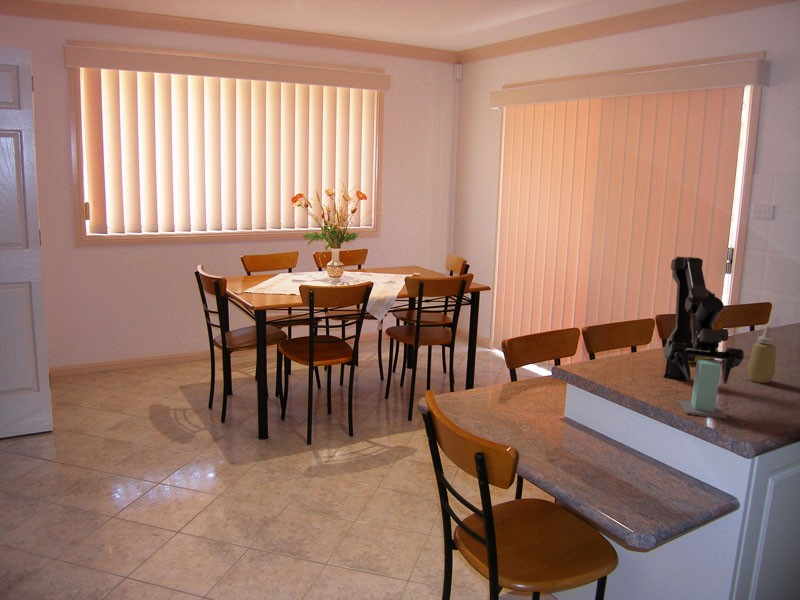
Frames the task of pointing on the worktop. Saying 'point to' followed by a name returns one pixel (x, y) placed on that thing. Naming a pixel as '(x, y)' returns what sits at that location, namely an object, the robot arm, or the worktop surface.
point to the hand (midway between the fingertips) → (707, 381)
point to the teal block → (705, 385)
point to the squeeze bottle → (762, 359)
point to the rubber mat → (690, 410)
